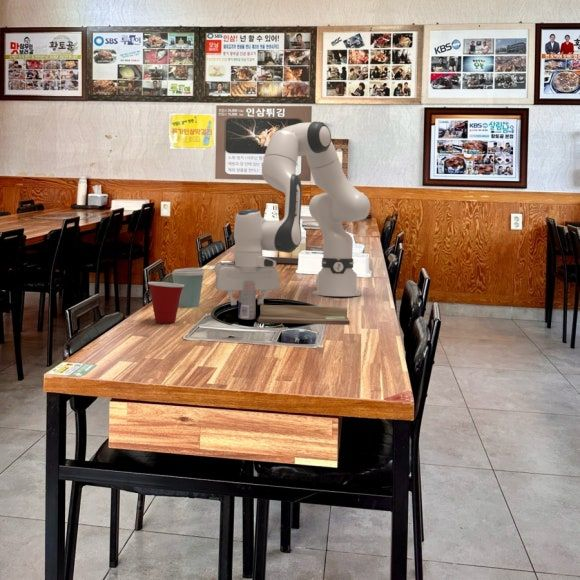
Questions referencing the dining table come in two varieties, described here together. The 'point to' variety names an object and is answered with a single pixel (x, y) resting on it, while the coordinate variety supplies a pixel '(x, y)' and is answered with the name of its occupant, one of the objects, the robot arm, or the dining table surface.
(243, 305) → the energy drink
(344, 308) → the walnut board
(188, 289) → the disposable coffee cup
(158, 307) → the plastic cup
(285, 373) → the dining table surface
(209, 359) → the dining table surface
